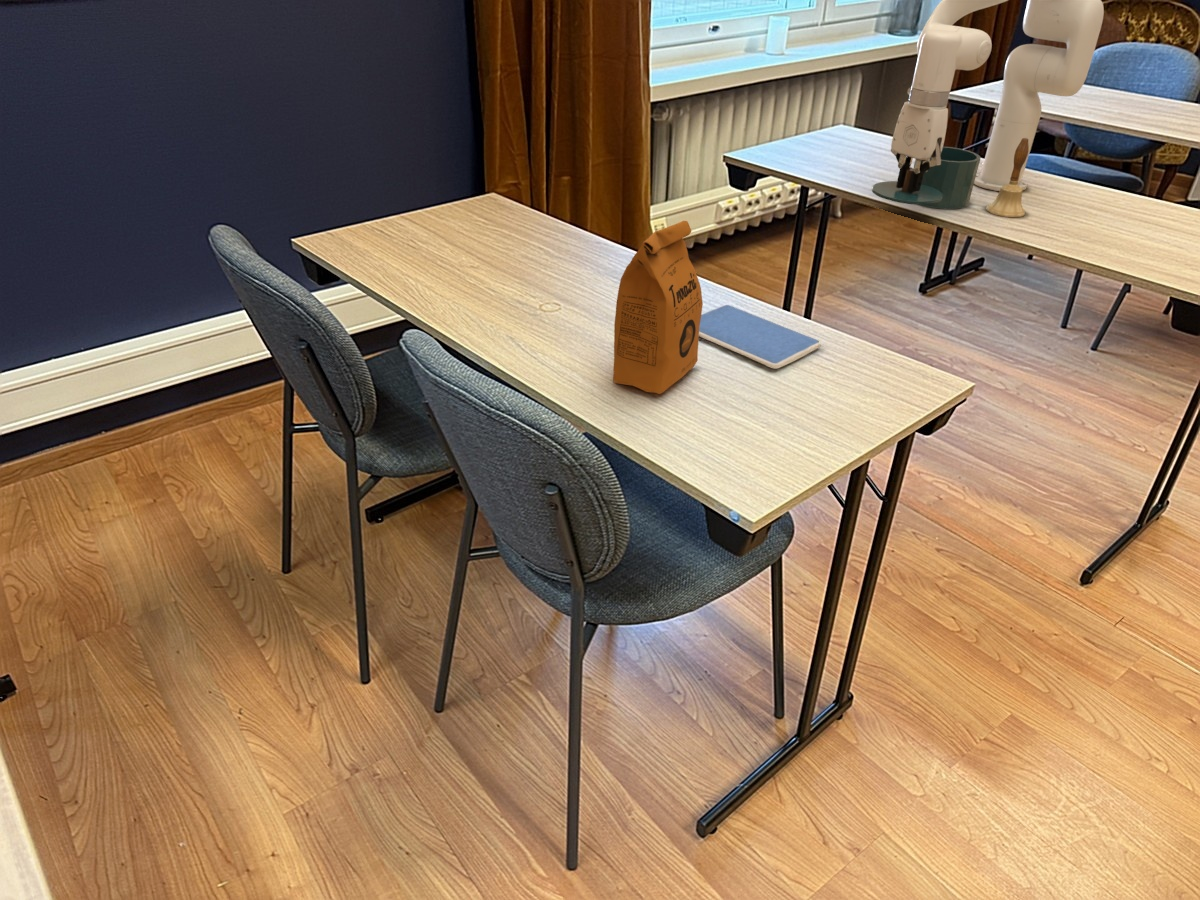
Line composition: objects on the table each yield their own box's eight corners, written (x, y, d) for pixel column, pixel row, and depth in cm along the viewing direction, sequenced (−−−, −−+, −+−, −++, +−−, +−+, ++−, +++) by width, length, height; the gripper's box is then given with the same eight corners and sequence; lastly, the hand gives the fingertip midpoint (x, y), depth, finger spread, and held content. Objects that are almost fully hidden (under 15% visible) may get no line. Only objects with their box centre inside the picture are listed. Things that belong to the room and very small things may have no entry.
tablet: (676, 330, 138) (676, 322, 137) (726, 309, 145) (726, 301, 145) (774, 373, 126) (775, 365, 126) (822, 348, 134) (824, 340, 133)
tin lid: (856, 191, 187) (862, 164, 184) (903, 183, 194) (909, 157, 190) (908, 210, 177) (914, 182, 174) (956, 201, 183) (963, 174, 180)
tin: (894, 195, 202) (904, 150, 196) (934, 188, 208) (945, 143, 203) (940, 212, 193) (952, 165, 187) (980, 204, 199) (993, 157, 193)
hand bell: (990, 215, 192) (1011, 142, 183) (982, 204, 198) (1002, 132, 190) (1029, 219, 191) (1052, 144, 182) (1020, 207, 197) (1041, 135, 189)
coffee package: (707, 371, 126) (723, 225, 114) (659, 404, 118) (671, 250, 106) (651, 351, 131) (661, 209, 119) (602, 381, 123) (607, 232, 111)
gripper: (885, 92, 178) (867, 181, 188) (947, 107, 167) (924, 202, 177) (910, 89, 182) (891, 177, 192) (973, 104, 170) (949, 197, 180)
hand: (907, 188), depth 184 cm, fingers closed on tin lid, 2 cm apart
